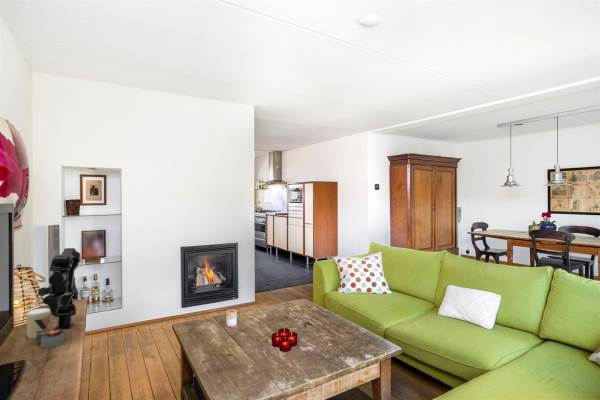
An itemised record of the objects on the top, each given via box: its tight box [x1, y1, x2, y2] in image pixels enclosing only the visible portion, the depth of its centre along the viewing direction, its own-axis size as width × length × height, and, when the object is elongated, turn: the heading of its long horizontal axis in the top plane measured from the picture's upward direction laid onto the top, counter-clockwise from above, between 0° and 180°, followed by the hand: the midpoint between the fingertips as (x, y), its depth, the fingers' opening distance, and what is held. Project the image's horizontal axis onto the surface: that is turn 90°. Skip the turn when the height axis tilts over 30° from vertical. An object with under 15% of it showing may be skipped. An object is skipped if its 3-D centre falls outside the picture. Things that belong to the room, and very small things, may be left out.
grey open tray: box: [35, 330, 65, 348], centre depth 154 cm, size 8×11×4 cm
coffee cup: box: [26, 308, 52, 339], centre depth 163 cm, size 9×9×12 cm
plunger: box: [47, 328, 60, 335], centre depth 154 cm, size 4×4×5 cm
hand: (59, 312), depth 161 cm, fingers open, 9 cm apart
